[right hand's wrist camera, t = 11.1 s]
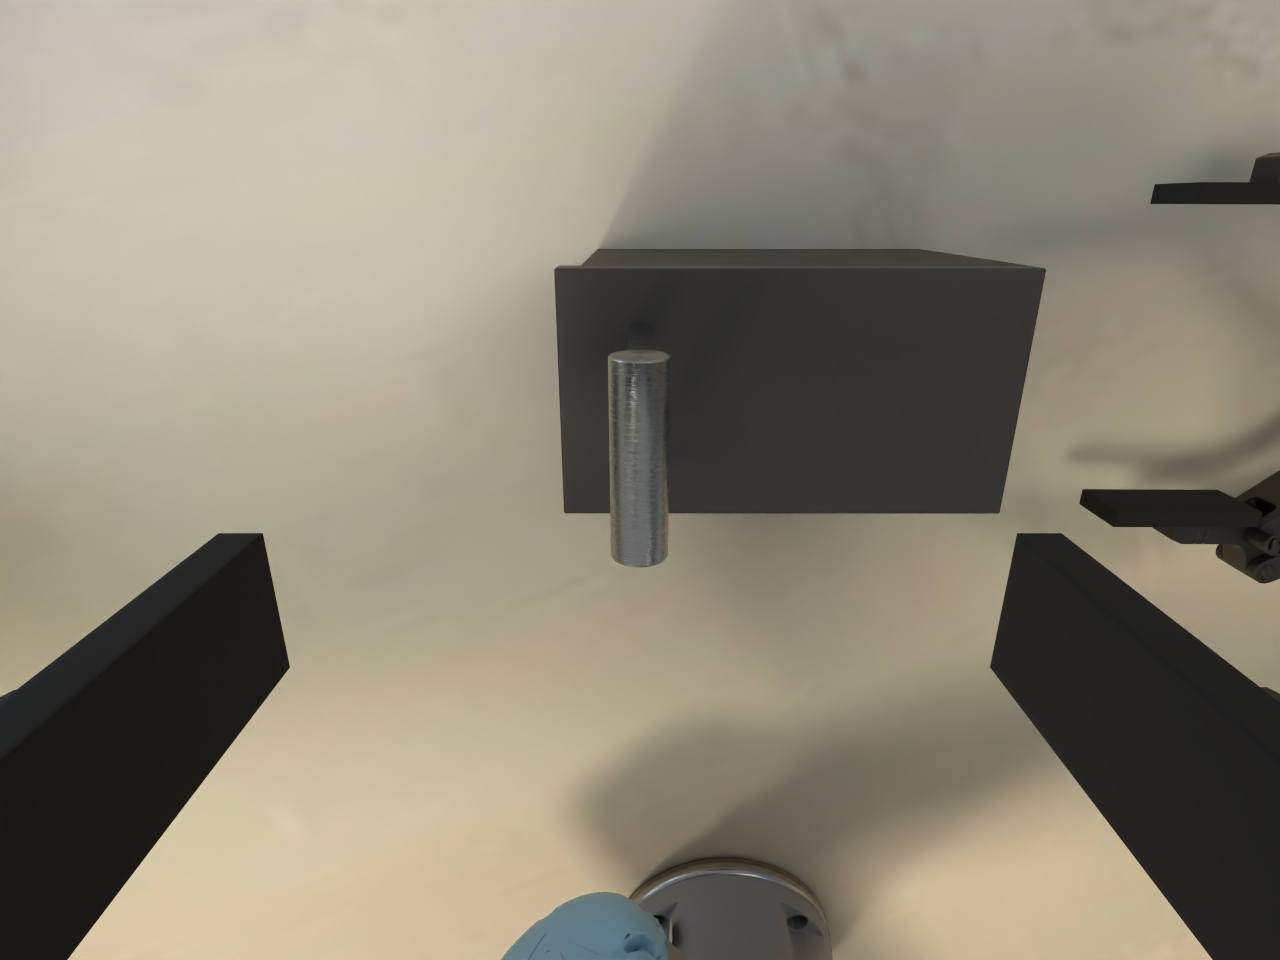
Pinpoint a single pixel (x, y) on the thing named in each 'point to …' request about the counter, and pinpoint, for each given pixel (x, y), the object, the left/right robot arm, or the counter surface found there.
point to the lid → (787, 390)
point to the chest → (782, 257)
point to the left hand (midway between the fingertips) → (1132, 362)
